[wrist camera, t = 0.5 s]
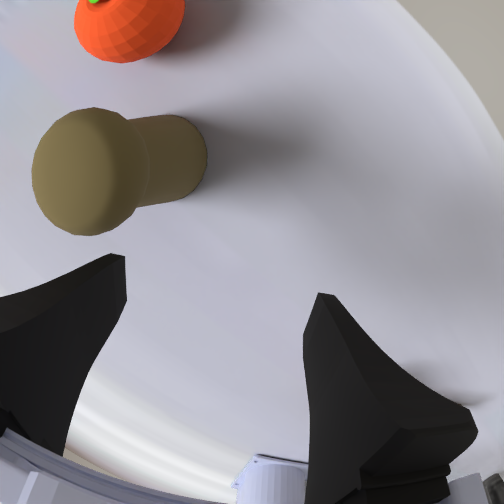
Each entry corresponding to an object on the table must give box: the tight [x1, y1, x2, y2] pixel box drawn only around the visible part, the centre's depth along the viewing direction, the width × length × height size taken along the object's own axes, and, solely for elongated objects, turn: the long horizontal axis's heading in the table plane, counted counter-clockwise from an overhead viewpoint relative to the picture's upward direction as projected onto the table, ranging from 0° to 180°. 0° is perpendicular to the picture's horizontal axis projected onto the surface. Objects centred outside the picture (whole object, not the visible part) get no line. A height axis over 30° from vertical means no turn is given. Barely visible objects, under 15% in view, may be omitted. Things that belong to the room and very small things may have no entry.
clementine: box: [74, 0, 185, 63], centre depth 13 cm, size 8×7×7 cm
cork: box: [32, 107, 207, 236], centre depth 14 cm, size 6×6×11 cm
